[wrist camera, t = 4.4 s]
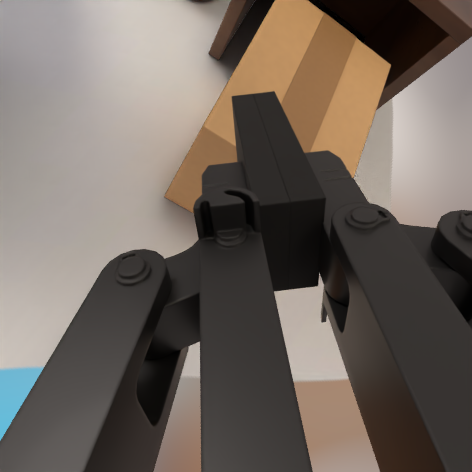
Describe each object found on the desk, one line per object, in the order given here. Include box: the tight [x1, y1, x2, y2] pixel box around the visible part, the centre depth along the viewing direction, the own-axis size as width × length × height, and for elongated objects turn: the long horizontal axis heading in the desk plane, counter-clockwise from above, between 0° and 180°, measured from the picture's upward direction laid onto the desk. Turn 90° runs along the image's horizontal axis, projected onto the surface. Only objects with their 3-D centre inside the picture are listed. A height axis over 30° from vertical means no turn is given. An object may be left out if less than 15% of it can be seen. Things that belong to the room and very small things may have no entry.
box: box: [164, 0, 391, 213], centre depth 29 cm, size 14×10×12 cm
